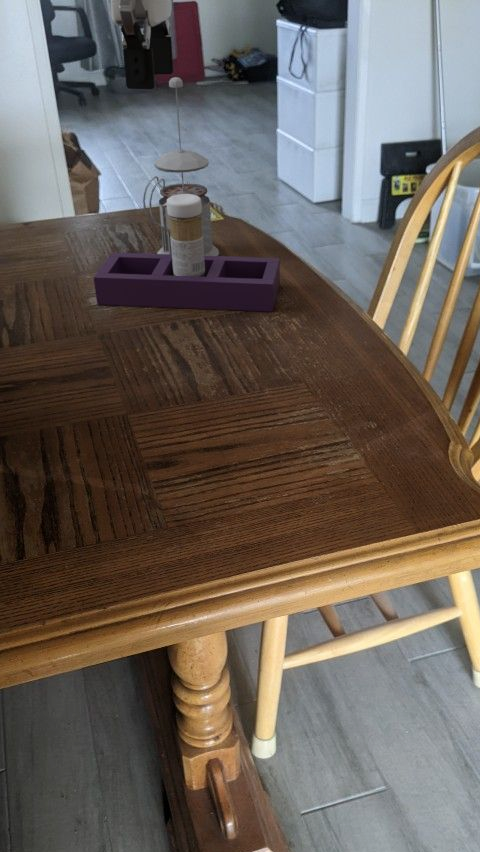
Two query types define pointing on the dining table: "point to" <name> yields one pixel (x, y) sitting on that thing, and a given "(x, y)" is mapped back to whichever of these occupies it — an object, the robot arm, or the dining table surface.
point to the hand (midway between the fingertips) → (151, 80)
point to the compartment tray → (188, 283)
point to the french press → (182, 188)
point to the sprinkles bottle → (186, 235)
